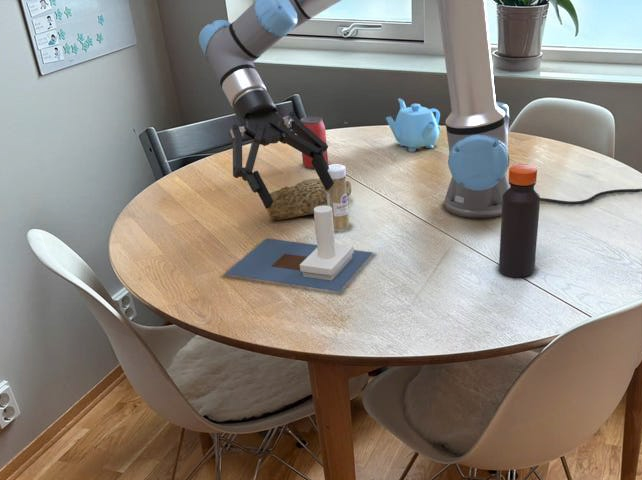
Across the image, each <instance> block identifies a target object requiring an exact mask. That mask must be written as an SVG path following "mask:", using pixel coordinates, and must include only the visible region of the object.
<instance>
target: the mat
mask: <svg viewBox="0 0 642 480" xmlns="http://www.w3.org/2000/svg"><path fill="white" fill-rule="evenodd" d="M316 248H317V244H311V243H304V242H298V241H297V242H295V241H290V240H280V239H276V238H275V239H273V238H265V239H264V240H263V241H262V242H260V243H259V244H258V245H257V246H256V247H255V248H254V249H252V250H251V251H250V252H249V253H248V254H246V255H245V256H244V257H243V258H242V259H241V260H239V261H238V262H237V263H236V264H235V265H233V266H232V267H231V268H230V269H229V270H227V271H226V272H225V273H224V275H225V276H230V277H237V278H243V279H252V280H257V281H264V282H270V283H278V284H285V285H291V286H298V287H303V288H304V287H305V288H311V289H317V290H322V291H323V290H324V291H331V292H337V293H340V292H341V291H342V290H343V288H344V287H345V286H346V285H347V284H348V283H349V281H351V279H352V278H353V277H354V275H356V273H357V272H358V271H359V270H360V269H361V267H362V266H363V265H364V264H365V263H366V262H367V261H368V260H369V258H370V257H371V256H372V255H373V251H372V252H371V251H363V250H356V249H354V253H353V254H352V259H351V260H350V261H349V262H348V263H347V265H346V266H345V267H344V268H343V269H342V270H341V271H340V272H339V273H338V275H337V276H336V277H335V278H334V279H333V280H332V281H330V280H324V279H317V278H310V277H303V272H302V271H300V264H301V263H302V262H303V261H304V260H305V259H306V258H307V257H308V256H309V255H310V254H311V253H312V252H313V251H314V250H315V249H316Z"/></svg>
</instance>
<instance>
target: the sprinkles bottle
mask: <svg viewBox="0 0 642 480" xmlns="http://www.w3.org/2000/svg"><path fill="white" fill-rule="evenodd" d="M328 166H329V169H328V173H329V174H330V176H331V178H332V180H333V182H334V184H333V185H332V187H331V188H330V190H327V191H326V198H327V206H330V207H331V208H332V214H333V226H334V231H342V230H345V229H348V228H349V227H350V221H349V220H350V219H349V203H348V197H347V192H346V181H347V180H346V176H347V171H346V169H347V168H346V166H345V165H343V164H339V163H332V164H328ZM345 180H346V181H345Z"/></svg>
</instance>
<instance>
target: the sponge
mask: <svg viewBox="0 0 642 480" xmlns="http://www.w3.org/2000/svg"><path fill="white" fill-rule="evenodd" d="M345 181H346V192H347V198H349V196H351V194H352V184H351V182H350V181H349V180H348V181H347V180H346V179H345ZM269 193H270V192H269ZM270 195H271V197H272V199H273V203H272V205H271V206H270V208H268V209H267V213H268V215H269V217H270V219H272V220H273V221H281V220H288V219H294V218H297V217H302V216H307V215H314V208H315V207H317V206H323V205H326V206H327V198H326V189H325V188H324V186H323V184H322V182H321V180H320V178H319V177H318V178H310V179H305V180H304V179H303V180H302V181H300V182H298V183H296V184H295V185H293V186H284V187H282V188H280V189H277V190H275V191H272V192H271V193H270Z"/></svg>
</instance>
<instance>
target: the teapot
mask: <svg viewBox="0 0 642 480" xmlns="http://www.w3.org/2000/svg"><path fill="white" fill-rule="evenodd" d="M397 101H398V103H399V111H398V113H397V116H396V118H395V120H394V119H393V116H391V115H390V116H387V117H385V120H386V123H387V124H388V126H389V128H390V130H391V132H392V135H393V137H394V139H395V140H396V141H397V142H398V143H399V144H398V145H399V146H400V147H408V149H407V151H408V152H413V153H414V152H416V151H417V148H421V147H425V148H426V149H434V144H436V143H437V141H438V140H439V137H440V132H441V126H440V125H439V123H440V118H441V112H440V111H439V110H438V109H436V108H428V107H426V106H422V105H421V104H420V103H412V104H410V106H406V102H405V101H404V99H402V98H397ZM434 112H435V115H434Z"/></svg>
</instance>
